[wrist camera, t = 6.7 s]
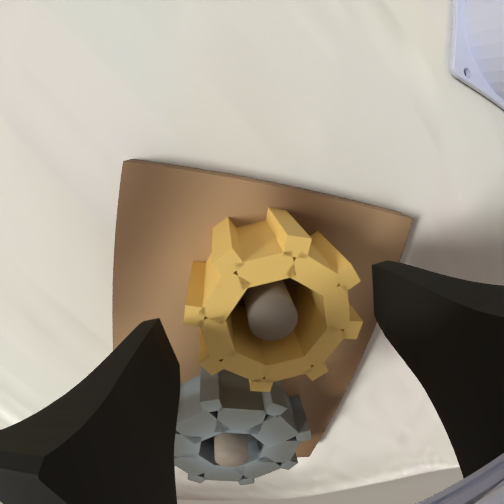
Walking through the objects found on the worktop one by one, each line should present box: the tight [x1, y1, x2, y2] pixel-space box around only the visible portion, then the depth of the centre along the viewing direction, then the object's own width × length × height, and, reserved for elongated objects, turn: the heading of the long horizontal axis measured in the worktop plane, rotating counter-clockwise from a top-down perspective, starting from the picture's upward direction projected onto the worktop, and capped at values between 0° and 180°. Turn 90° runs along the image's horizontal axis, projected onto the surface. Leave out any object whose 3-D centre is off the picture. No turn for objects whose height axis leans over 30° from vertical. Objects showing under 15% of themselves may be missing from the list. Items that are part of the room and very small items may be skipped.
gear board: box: [113, 159, 413, 485], centre depth 14 cm, size 12×16×4 cm
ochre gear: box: [183, 207, 363, 392], centre depth 11 cm, size 6×6×4 cm
